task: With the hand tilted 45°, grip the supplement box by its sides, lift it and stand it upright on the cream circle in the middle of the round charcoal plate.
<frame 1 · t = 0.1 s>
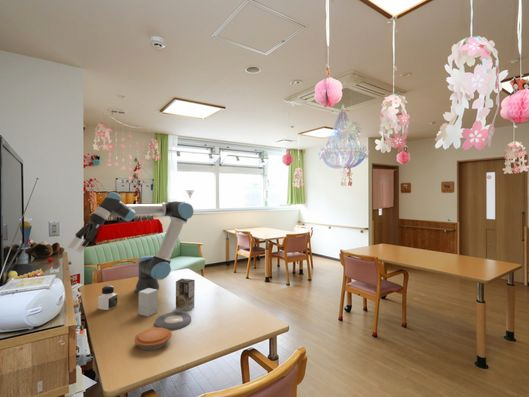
hand: (73, 249, 152), 36 cm above the table, tool tilted 35°, fingers open, 13 cm apart
supplement box: (148, 313, 159), on the table
charcoal plate: (173, 321, 149), on the table
pie: (153, 344, 127), on the table
white bottle: (107, 307, 165), on the table
coffee box: (185, 308, 167), on the table
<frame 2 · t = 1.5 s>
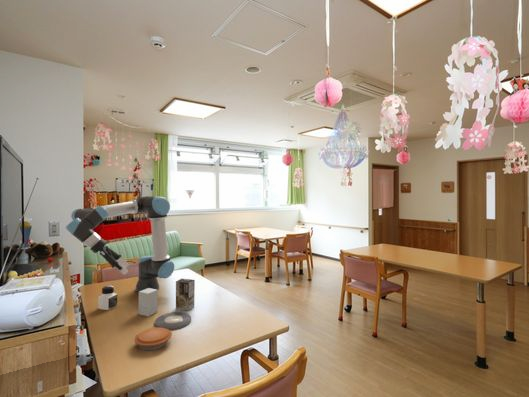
hand: (127, 269, 154), 25 cm above the table, tool tilted 45°, fingers open, 13 cm apart
nothing on the table moved.
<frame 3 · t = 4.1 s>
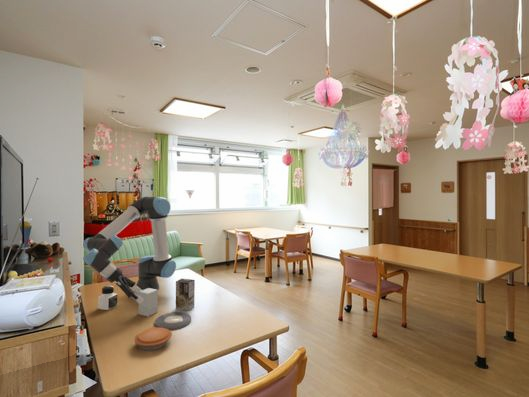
hand: (142, 297, 156), 9 cm above the table, tool tilted 45°, fingers open, 13 cm apart
nothing on the table moved.
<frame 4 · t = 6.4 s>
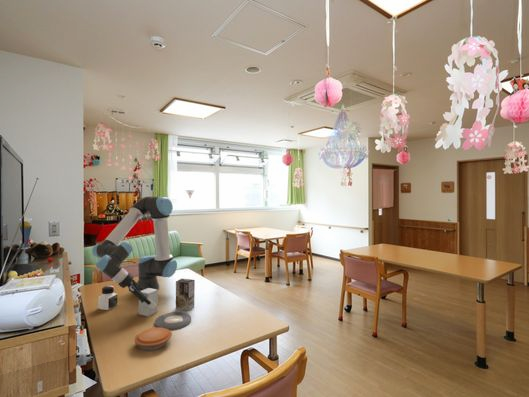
hand: (154, 303, 160), 5 cm above the table, tool tilted 45°, fingers closed on supplement box, 10 cm apart
supplement box: (148, 313, 159), on the table, touching gripper
everything else where it was.
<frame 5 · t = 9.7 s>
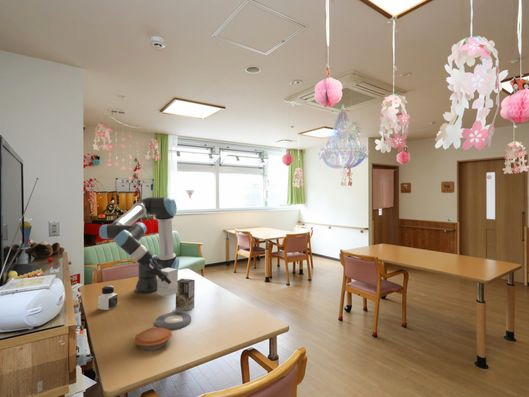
hand: (173, 283, 150), 19 cm above the table, tool tilted 45°, fingers closed on supplement box, 10 cm apart
supplement box: (167, 294, 149), point 14 cm above the table, touching gripper
everything else where it was.
when the fingers open (8 cm above the table, at t = 13.1 s): supplement box drops 1 cm, resting on charcoal plate.
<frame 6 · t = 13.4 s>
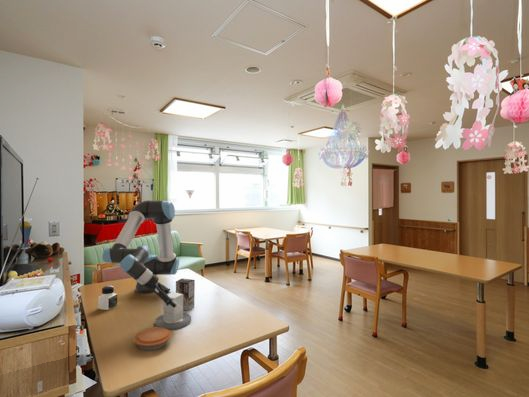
hand: (178, 305, 149), 8 cm above the table, tool tilted 45°, fingers open, 13 cm apart
supplement box: (173, 319, 149), point 1 cm above the table, touching charcoal plate
everything else where it was.
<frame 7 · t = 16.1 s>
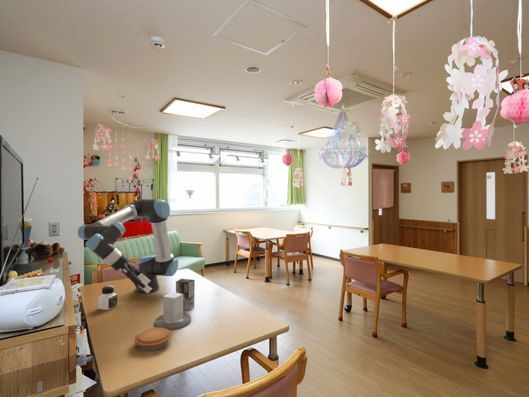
hand: (149, 286, 145), 19 cm above the table, tool tilted 45°, fingers open, 13 cm apart
nothing on the table moved.
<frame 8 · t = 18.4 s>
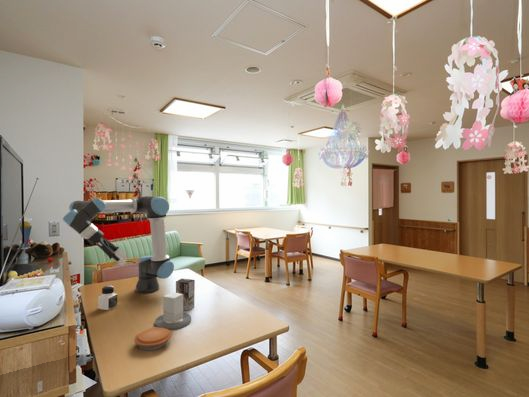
hand: (124, 261, 154), 30 cm above the table, tool tilted 45°, fingers open, 13 cm apart
nothing on the table moved.
at the end: supplement box inside the target area on the charcoal plate (0.2 cm from its centre), point 1.1 cm above the charcoal plate's base; supplement box tilted 0°; the gripper is holding nothing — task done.
